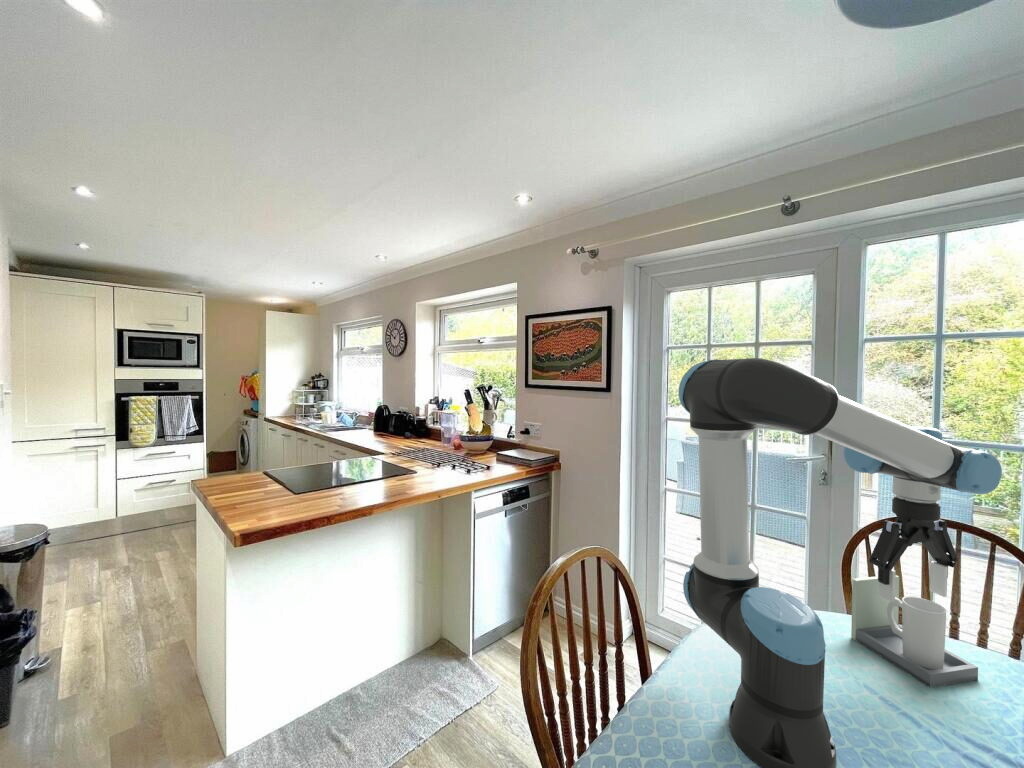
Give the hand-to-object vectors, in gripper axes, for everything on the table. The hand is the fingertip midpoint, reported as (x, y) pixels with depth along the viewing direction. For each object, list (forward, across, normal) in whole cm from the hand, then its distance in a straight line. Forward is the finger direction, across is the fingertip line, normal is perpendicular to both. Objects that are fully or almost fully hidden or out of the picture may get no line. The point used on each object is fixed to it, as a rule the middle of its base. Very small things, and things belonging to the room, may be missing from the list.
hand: (912, 596), depth 91 cm
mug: (+13, +1, 0) cm, 13 cm away
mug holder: (+14, 0, 0) cm, 14 cm away
